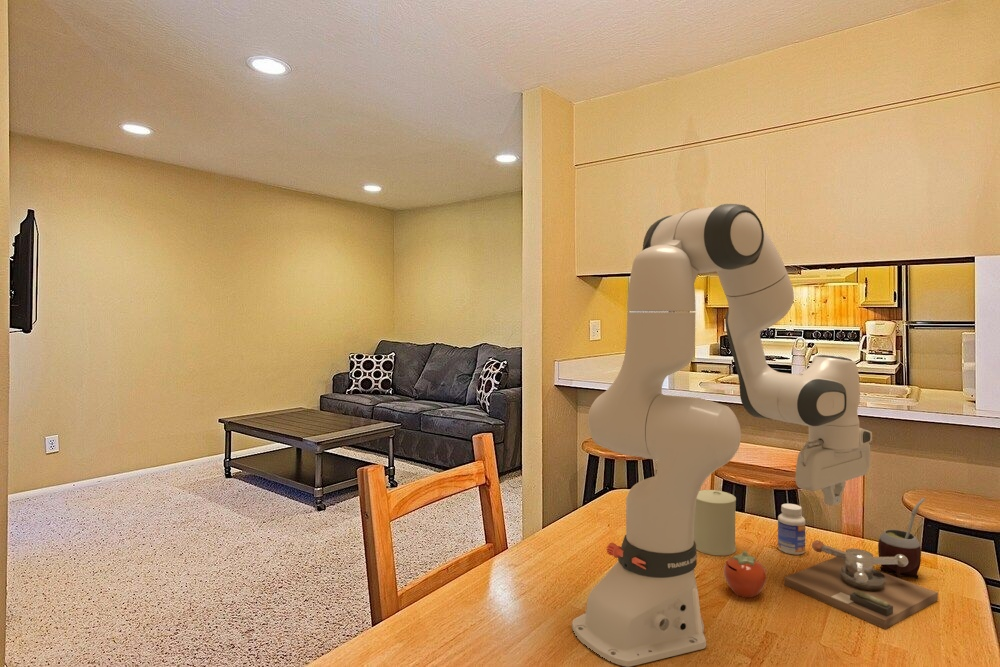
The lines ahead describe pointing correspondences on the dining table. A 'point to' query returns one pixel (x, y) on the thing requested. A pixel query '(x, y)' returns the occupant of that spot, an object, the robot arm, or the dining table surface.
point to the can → (715, 522)
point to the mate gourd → (901, 549)
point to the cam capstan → (861, 566)
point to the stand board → (862, 594)
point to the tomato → (745, 575)
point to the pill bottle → (791, 529)
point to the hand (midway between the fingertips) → (832, 503)
